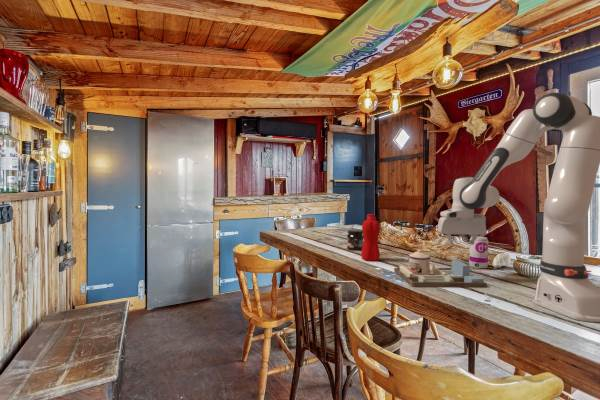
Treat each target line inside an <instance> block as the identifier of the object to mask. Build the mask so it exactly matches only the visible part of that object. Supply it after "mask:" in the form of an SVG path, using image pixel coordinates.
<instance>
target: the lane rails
mask: <svg viewBox="0 0 600 400" xmlns="http://www.w3.org/2000/svg"><path fill="white" fill-rule="evenodd" d="M437 268H438V269H440V270H452V267H437ZM393 272H394V273H395V274H397V275H398V276H399V277H400V278H401V279H403V281H405V282H406V283H407V284H408V285H409V286H410V287H413V288H415V287H416V288H418V287H419V288H426V287H427V288H432V287H433V288H487V287H488V286H487V285H488V283H487V282H485V281H484V282H464V277H450V278H452V279H453V280H454V282H418V277H407V276H406V275H404V274H403V273H402V272H401V271H400V267H394V268H393ZM424 278H444V277H424Z"/></svg>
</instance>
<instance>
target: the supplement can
mask: <svg viewBox="0 0 600 400" xmlns="http://www.w3.org/2000/svg"><path fill="white" fill-rule="evenodd" d="M472 237H473V236H472V235H471V237H470V239H469V240H471V239H472ZM489 242H490V241H489V239H488V237H485V236H480V235H477V238H476V240H475V241H474V245H470V244H469V246H468V247H469V251H468V252H469V256H468V265H469V266H471V267H470V268H473V267H474V268H473V269H478V268H485V269H487V268H488V266H489Z"/></svg>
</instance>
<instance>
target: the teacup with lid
mask: <svg viewBox="0 0 600 400" xmlns="http://www.w3.org/2000/svg"><path fill="white" fill-rule="evenodd" d="M408 260H409V261H408V268H409V271H410V272H412V273H413V275H430V274H432V272H433V271H434V269H435V267H436V265H435V264H434V262H432V261H431V256H430V255H429V254H427V253H425V252H424V251H423V250H422V249H417V251H414V252H413V253H410V254H409V255H408ZM430 266H432V270H431V271H430Z"/></svg>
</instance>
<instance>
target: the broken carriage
mask: <svg viewBox="0 0 600 400" xmlns="http://www.w3.org/2000/svg"><path fill="white" fill-rule="evenodd" d="M449 276H450V275H448V274H447V275H444V278H424V277H423V276H421V275H418V282H454V280H453V279H452V278H450V277H449ZM464 282H485V278H483V277H481V276H479V275H470V276H464Z"/></svg>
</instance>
